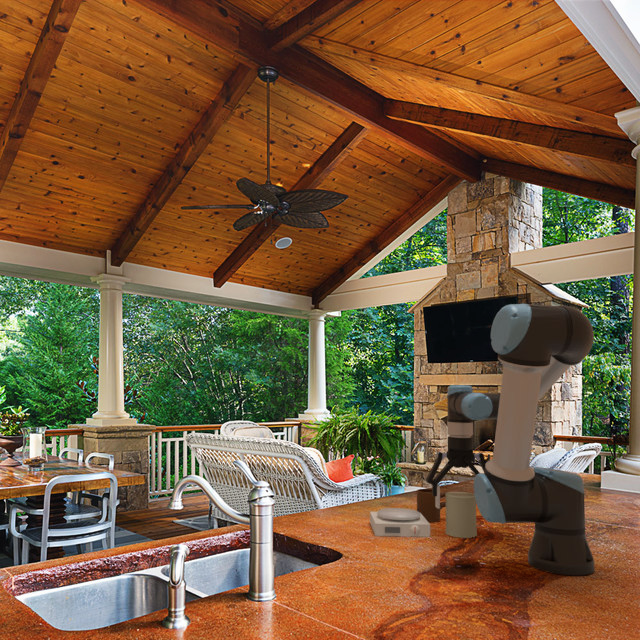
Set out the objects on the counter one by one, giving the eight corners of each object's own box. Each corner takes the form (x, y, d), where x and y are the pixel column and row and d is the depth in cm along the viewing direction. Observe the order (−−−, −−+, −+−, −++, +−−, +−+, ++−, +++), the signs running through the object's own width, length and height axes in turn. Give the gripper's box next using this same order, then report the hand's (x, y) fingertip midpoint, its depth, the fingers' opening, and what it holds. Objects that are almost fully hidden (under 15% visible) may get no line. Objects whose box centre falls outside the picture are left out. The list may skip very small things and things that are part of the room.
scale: (430, 537, 167) (430, 519, 168) (375, 536, 167) (375, 518, 167) (420, 523, 183) (420, 507, 184) (370, 523, 183) (370, 506, 184)
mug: (448, 517, 194) (448, 488, 195) (456, 522, 187) (456, 492, 188) (413, 517, 192) (413, 488, 193) (420, 522, 185) (420, 492, 186)
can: (478, 539, 166) (477, 496, 167) (445, 536, 168) (445, 494, 169) (476, 531, 175) (475, 490, 176) (445, 529, 177) (444, 489, 178)
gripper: (497, 435, 179) (497, 505, 177) (416, 434, 178) (416, 504, 176) (505, 438, 171) (505, 511, 169) (421, 436, 171) (421, 510, 169)
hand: (460, 508), depth 173 cm, fingers open, 13 cm apart
